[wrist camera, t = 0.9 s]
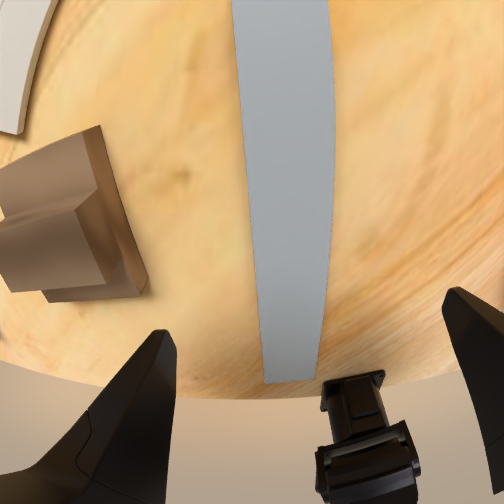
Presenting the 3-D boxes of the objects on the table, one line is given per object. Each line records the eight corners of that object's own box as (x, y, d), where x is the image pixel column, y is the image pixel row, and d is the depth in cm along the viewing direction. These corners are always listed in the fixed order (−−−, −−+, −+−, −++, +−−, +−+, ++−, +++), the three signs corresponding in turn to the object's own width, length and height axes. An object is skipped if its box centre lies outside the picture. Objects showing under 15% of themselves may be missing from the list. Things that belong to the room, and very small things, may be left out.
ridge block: (148, 276, 18) (129, 326, 14) (59, 285, 19) (34, 327, 15) (99, 124, 13) (53, 145, 9) (8, 164, 13) (-36, 192, 9)
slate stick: (305, 337, 22) (313, 379, 19) (262, 341, 22) (264, 383, 19) (302, -17, 9) (321, -45, 6) (231, -16, 9) (226, -45, 6)
